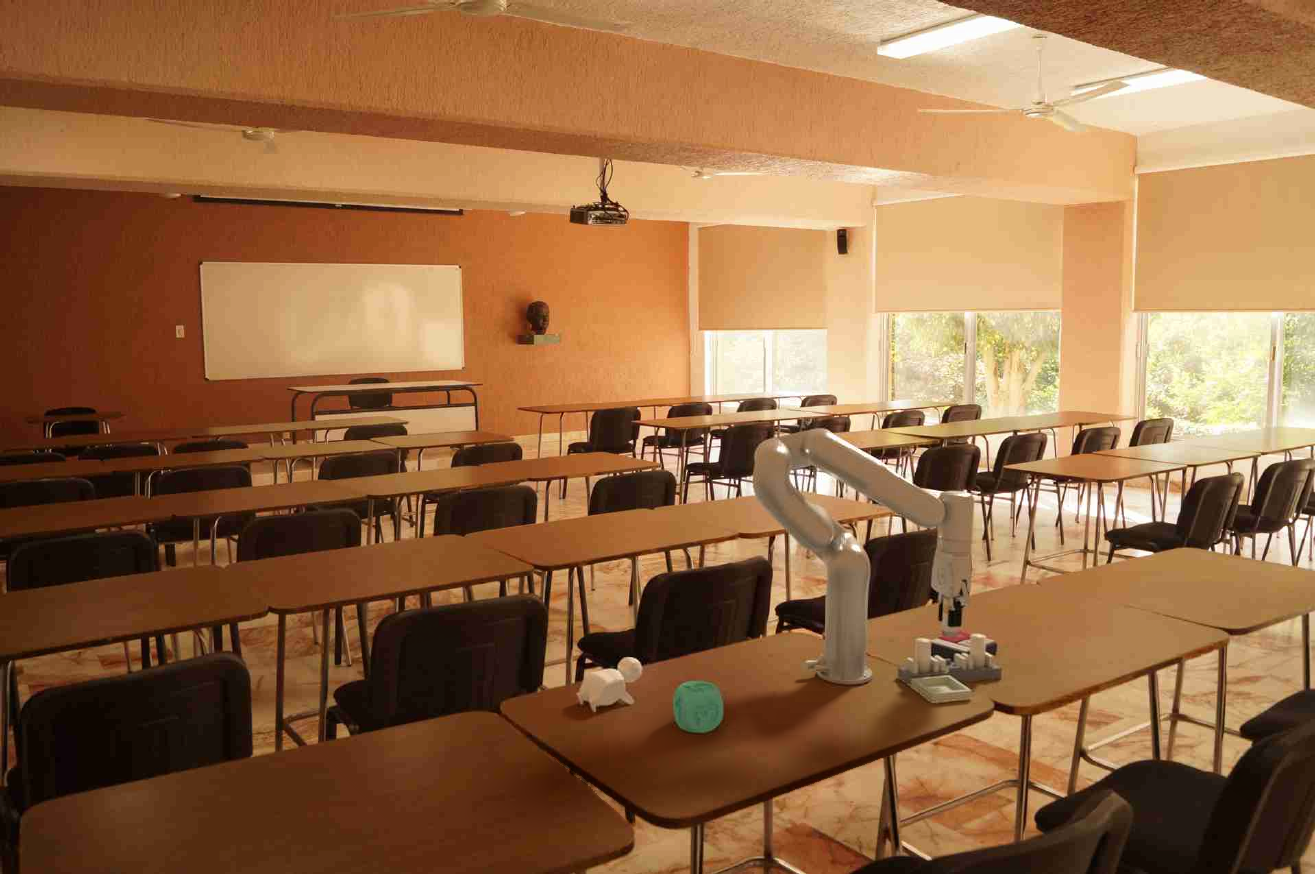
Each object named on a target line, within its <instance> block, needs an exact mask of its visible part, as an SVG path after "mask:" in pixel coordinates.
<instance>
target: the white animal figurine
mask: <svg viewBox="0 0 1315 874" xmlns="http://www.w3.org/2000/svg"><path fill="white" fill-rule="evenodd" d="M642 674H643V666H642V664H641V661H639V660H638V659H637V658H635V657H629V656H627V657H623V658H622V659H621V660H620V661H619V662H618V664H617V669H615V668H605V669H602V670H598V671H592V672H590V673H588V674H586V676H585V677H584V678H583V680H582V682H581V686H580V687H579V692H578V691H577V692H576V693H575V694H576V696H577V697H578V701H579V704H580V705H582V706H583V705H584V701H585V702H588V703H589V706H590V708H591V711H592V712H593V713H596V712H597V707H601V706H609V705H613V704H615V703H616V702H617V701H618V700H621V701H623V702H624V703H626V704H627V705H630V706H632V705H634V703H635V700H634V699H633V697H632V696H631V695H630V694H629V692H627V691H626V684H632V683H634V682H635V681H636V680H638V679H639V678H640V677H641V676H642Z"/></svg>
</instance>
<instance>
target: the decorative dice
mask: <svg viewBox="0 0 1315 874" xmlns="http://www.w3.org/2000/svg"><path fill="white" fill-rule="evenodd" d="M672 710H673V716H674V719H675V721H676V724H677V725H678V728H680V729H682V731H685V732H688V733H694V734H704V733H708V732H712V731H714V730H715V729H716V728H717V727H718V726H719V725H720V723H722V721H723V717H724V703H723V697H722V694H721V692H720V690H719V688H718V687H717V685H715V684H714V683H712V682H708V681H704V680H689V681H686V682H683V683H681V684H680V685H679V686H678V687H677V688H676V690H675V691H674V693H673V697H672Z"/></svg>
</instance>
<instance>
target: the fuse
mask: <svg viewBox="0 0 1315 874" xmlns="http://www.w3.org/2000/svg"><path fill="white" fill-rule="evenodd" d="M958 596H959V594H958ZM957 601H959V599H955V603H956V602H957ZM949 609H950V598H949V597H947V596H945V595H943V616H942V622H941V623H942V624H941V635H942V636H947V637H956V636H957V632H958V627H949V626H948V610H949Z"/></svg>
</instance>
